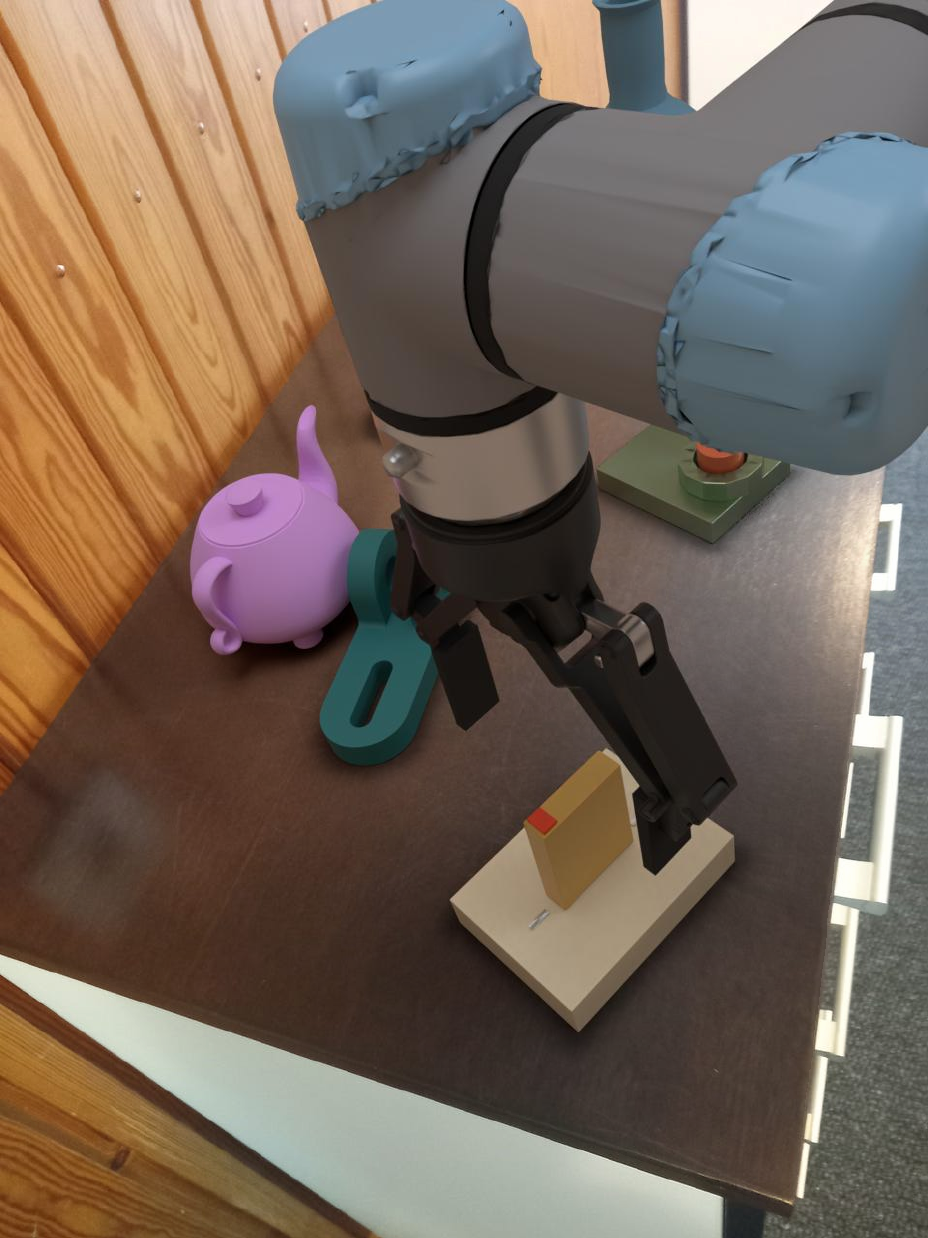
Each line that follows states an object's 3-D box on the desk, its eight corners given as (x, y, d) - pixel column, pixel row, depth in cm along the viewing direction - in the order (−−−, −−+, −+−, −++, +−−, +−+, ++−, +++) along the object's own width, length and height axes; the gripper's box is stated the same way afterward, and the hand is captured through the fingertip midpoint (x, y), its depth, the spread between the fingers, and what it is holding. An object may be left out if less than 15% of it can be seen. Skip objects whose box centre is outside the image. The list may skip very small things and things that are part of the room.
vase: (757, 216, 113) (755, -41, 95) (671, 294, 106) (652, 32, 88) (631, 195, 122) (608, -43, 104) (546, 265, 115) (505, 23, 97)
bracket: (395, 580, 86) (369, 510, 80) (471, 585, 83) (450, 513, 78) (315, 759, 75) (278, 692, 69) (401, 771, 72) (370, 702, 67)
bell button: (753, 455, 81) (753, 437, 80) (724, 480, 80) (724, 463, 79) (716, 440, 83) (715, 422, 82) (688, 464, 82) (686, 447, 81)
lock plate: (611, 773, 68) (605, 746, 66) (735, 861, 62) (734, 834, 60) (459, 922, 64) (448, 898, 61) (578, 1033, 57) (570, 1010, 55)
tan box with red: (613, 825, 62) (598, 746, 56) (634, 840, 61) (620, 762, 55) (545, 894, 60) (521, 820, 54) (565, 911, 59) (543, 837, 53)
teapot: (292, 506, 95) (243, 394, 86) (426, 527, 89) (388, 410, 80) (169, 668, 84) (98, 559, 75) (312, 705, 78) (254, 591, 69)
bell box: (793, 474, 84) (794, 435, 81) (715, 545, 81) (713, 507, 78) (674, 425, 91) (671, 388, 89) (599, 488, 88) (593, 451, 85)
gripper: (236, 411, 45) (367, 705, 60) (692, 687, 30) (713, 985, 45) (365, 325, 48) (459, 627, 63) (843, 539, 33) (815, 868, 48)
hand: (566, 778), depth 54 cm, fingers open, 13 cm apart
